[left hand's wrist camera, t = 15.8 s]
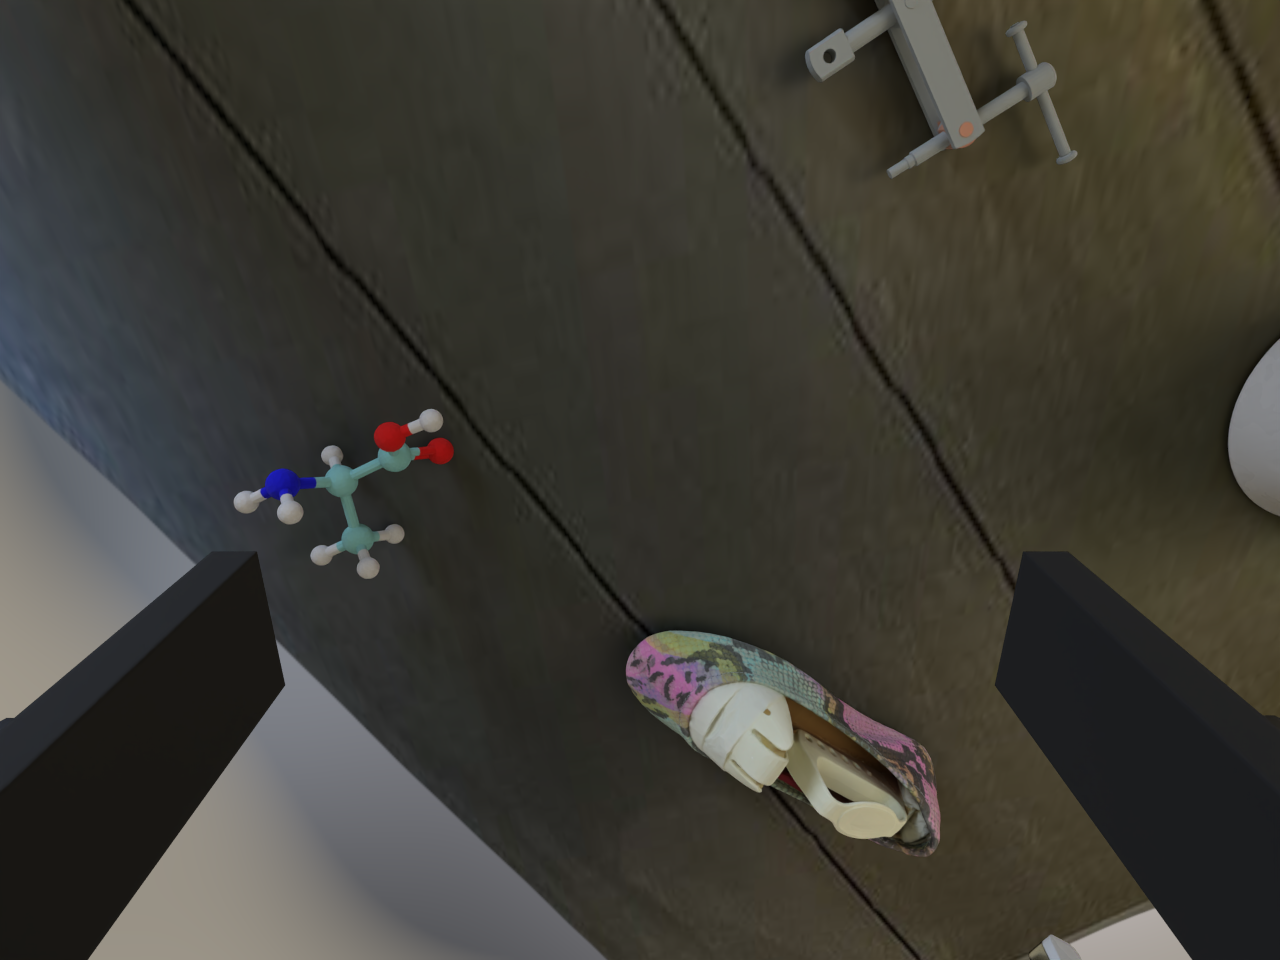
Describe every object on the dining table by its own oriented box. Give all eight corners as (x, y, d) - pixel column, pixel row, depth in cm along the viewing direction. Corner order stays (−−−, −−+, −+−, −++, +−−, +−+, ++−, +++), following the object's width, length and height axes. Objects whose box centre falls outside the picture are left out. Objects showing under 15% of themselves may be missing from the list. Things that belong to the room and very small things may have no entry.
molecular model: (452, 607, 45) (322, 625, 36) (344, 553, 49) (201, 556, 40) (509, 429, 44) (391, 400, 35) (395, 387, 48) (261, 352, 39)
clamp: (774, -23, 34) (975, -166, 32) (766, -11, 36) (955, -144, 34) (909, 262, 39) (1092, 153, 37) (896, 259, 41) (1068, 154, 39)
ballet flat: (671, 583, 49) (677, 661, 41) (954, 737, 53) (1010, 834, 45) (607, 674, 51) (601, 763, 43) (882, 813, 56) (922, 917, 48)
